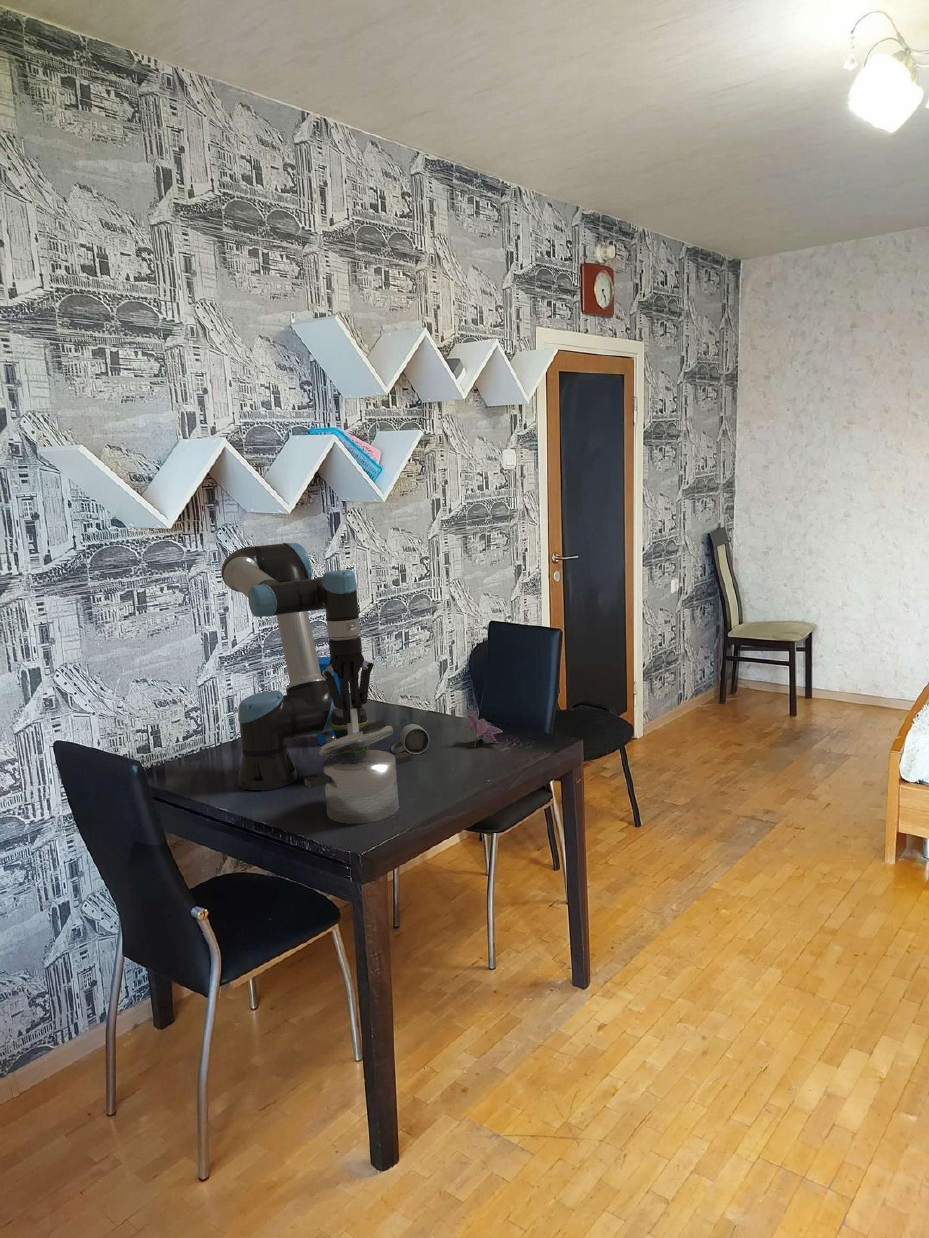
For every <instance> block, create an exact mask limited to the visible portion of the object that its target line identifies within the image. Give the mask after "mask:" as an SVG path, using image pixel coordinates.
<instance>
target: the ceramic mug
mask: <svg viewBox="0 0 929 1238" xmlns="http://www.w3.org/2000/svg"><path fill="white" fill-rule="evenodd" d="M399 737H400V738H399V739H400V740H399V741H397V742H395V743H394V744H393V745H392V746H391V747H390V750H391V754H393V755H396V754H399V753H403V752H406V753H409V754H411V755H416V754H417V755H420V754H421V755H422V754H423V753H425V752H426V751H427V749H428V748H429V745H430V736H429V733H428V732H427V730H426V729H424V728H423V727H422V726H420V725H419V724H416V723H415V724H414V723H410V724H408V725H407V724H406V725H405V726H404V727H403V728H402V730H401V732H400V736H399Z"/></svg>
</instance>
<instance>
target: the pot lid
mask: <svg viewBox="0 0 929 1238" xmlns="http://www.w3.org/2000/svg"><path fill="white" fill-rule="evenodd" d="M393 733H394V729H393V727H392V725H386V724H385V720H384V719H381V720H379V721H378V720H377V721H373V722H368V724H367V725H365V726H364V727H362V728H361V729H360V731H359V732H356V733H353V734H350V735H347V736H344V737H341V738H339V739H336V736H335V734H333V735H329V736H327V737H325V740H326V743H327V744H325V745H321V746H320V747H319V748H318V750H317V752H318V755H319V756H320V757H330V755H335V754H340V753H344V752H348V751H351V750H355V749H358V748H361V747H364V746H367V747H368V746H369V745H371V744H375V743H377V742H379V741H382V740H383V739H386V738H389V736H391V735H393Z"/></svg>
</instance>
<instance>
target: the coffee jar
mask: <svg viewBox="0 0 929 1238" xmlns="http://www.w3.org/2000/svg"><path fill="white" fill-rule="evenodd" d="M351 707H352V706H351ZM352 708H353V707H352ZM360 715H361V720H360V721H358V727H359V731H360V729H361V728H362V727H364V726H365V725H367V724H369V719H368V716H367V711H366V709H365V707H364V706H363V705H362V708H360ZM331 725H332V728H333V730H334V734H335V736H336V739H339V738H341V737H344V736H347V735H348V728H347V723H344V720H343V710H342V709H339V708H336V709H333V711H332V719H331ZM359 750H369V749H368V745H367V746H364V747H361V748H358V749H355V750H351V751H359Z"/></svg>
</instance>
